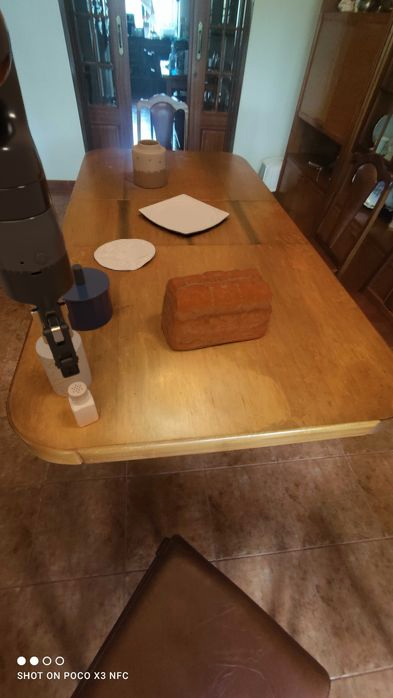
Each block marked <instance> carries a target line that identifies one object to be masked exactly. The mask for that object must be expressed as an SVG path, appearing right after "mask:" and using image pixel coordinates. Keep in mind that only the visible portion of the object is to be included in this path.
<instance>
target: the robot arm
mask: <svg viewBox="0 0 393 698" xmlns="http://www.w3.org/2000/svg"><path fill="white" fill-rule="evenodd" d="M11 40H12V39H11V35H10V31H9V27H8V23H7V21H6V18H5V17H4V14H3V12H2V9H1V8H0V285H1V288H2V289H3V292H4V294H5V295H6V296H7V297H8V299H11V300H12V301H14V302H16V303H20V304H25V305H29V307H30V308H29V310H30V314H31V317H32V319H33V321H34V322H35V323H36V324H37V326H38V329H39V332H40V335H41V336H42V338H43V340H44V343H45V344H47V345H49V347H50V350H51V353H52V355H53V359H54V360H55V366H56V367H57V368H58V369H60V370H61V373H62V375H63V377H64V378H68V377H71V376H75V375H77V374H79V373H80V370H79V367H78V363H79V361H78V360H79V357H78V356H77V355H76V350H75V349H74V346H73V342H72V338H73V336H74V334H73V331H72V330H73V329H72V328H71V325H70V322H69V319H68V309H67V306H66V303H65V300H64V301H63V295H65V294H66V293H68V292H69V290H70V289H71V288H72V286H73V284H74V275H73V271H72V267H71V266H72V264H71V263H72V262H71V259H70V256H69V252H68V251H69V250H68V249H67V244H66V240H65V236H64V232H63V227H62V225H61V221H60V218H59V216H58V213H57V212H56V209H55V205H54V202H53V198H52V196H51V195H52V194H51V192H50V188H49V183H48V180H47V175H46V171H45V169H44V165H43V163H42V159H41V155H40V153H39V150H38V148H37V145H36V142H35V140H34V138H33V135H32V132H31V129H30V125H29V120H28V116H27V115H28V114H27V111H26V106H25V102H24V97H23V91H22V88H21V84H20V79H19V75H18V70H17V67H16V62H15V58H14V53H13V48H12V41H11ZM61 313H62V314H61ZM62 315H63V317H62ZM63 318H64V321H65V323H64V321H63Z"/></svg>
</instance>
